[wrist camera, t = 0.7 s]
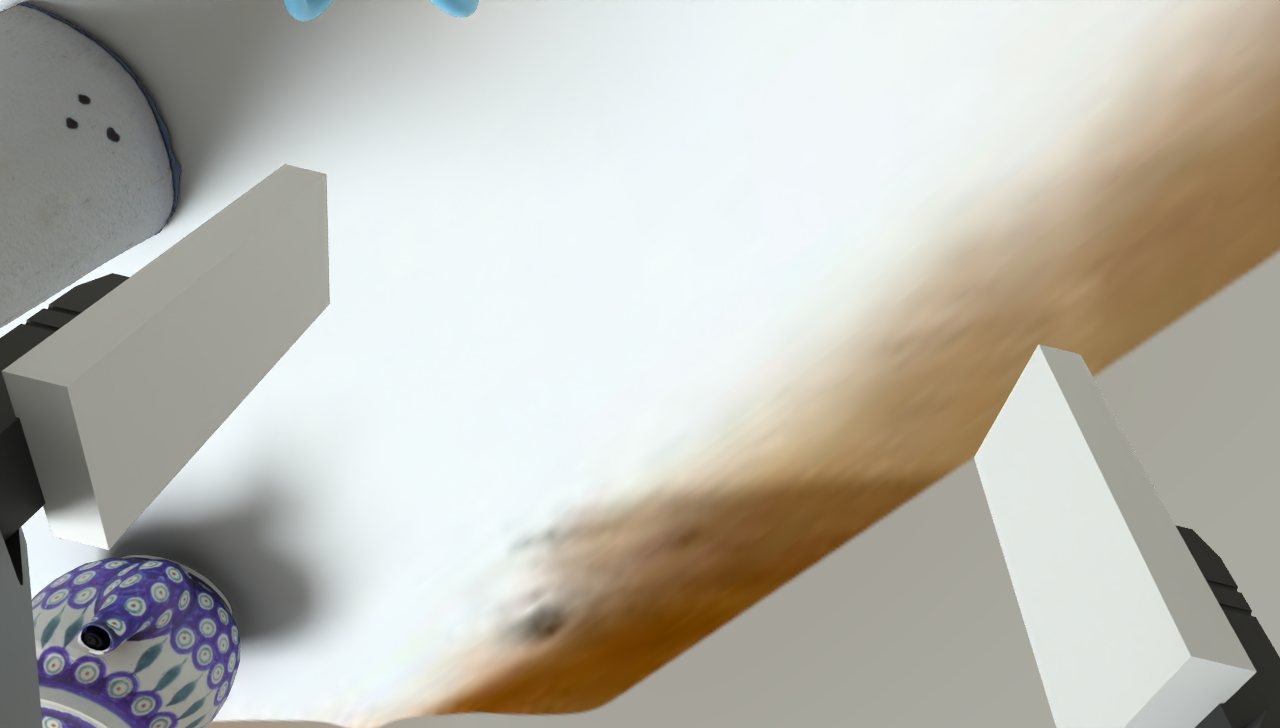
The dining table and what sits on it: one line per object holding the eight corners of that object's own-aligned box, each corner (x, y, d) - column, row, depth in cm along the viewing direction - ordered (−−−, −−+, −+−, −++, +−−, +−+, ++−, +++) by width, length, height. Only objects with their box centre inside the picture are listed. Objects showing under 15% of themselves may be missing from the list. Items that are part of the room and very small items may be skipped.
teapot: (226, 708, 74) (116, 889, 62) (56, 635, 71) (-95, 809, 59) (309, 552, 61) (190, 744, 48) (104, 454, 58) (-78, 631, 45)
